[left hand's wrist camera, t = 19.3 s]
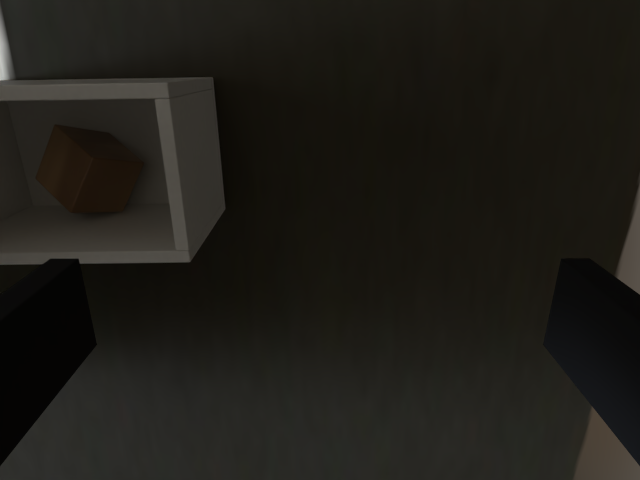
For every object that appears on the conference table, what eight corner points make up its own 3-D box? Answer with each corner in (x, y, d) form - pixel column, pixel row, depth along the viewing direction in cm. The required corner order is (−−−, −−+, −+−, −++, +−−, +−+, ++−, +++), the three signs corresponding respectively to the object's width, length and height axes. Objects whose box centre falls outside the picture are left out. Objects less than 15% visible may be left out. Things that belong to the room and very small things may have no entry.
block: (92, 157, 28) (54, 123, 29) (70, 213, 29) (34, 178, 30) (145, 162, 31) (109, 132, 33) (123, 212, 33) (89, 180, 34)
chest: (213, 77, 32) (167, 82, 22) (225, 209, 35) (190, 262, 26) (-2, 80, 32) (-140, 87, 22) (31, 212, 36) (-75, 266, 26)
